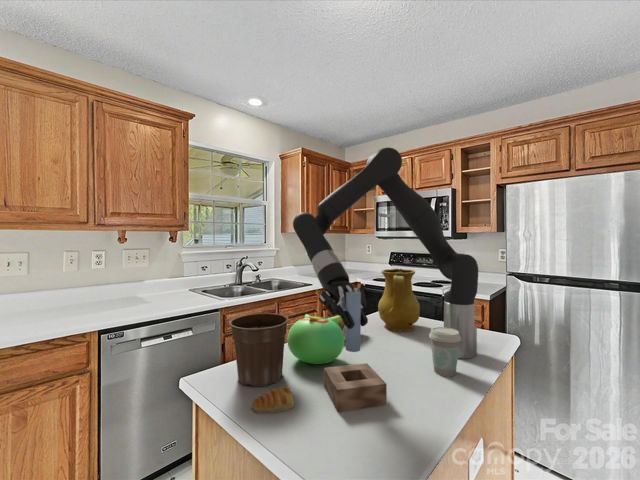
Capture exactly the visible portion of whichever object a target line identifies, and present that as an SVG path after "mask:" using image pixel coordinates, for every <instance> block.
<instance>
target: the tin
mask: <svg viewBox="0 0 640 480" xmlns="http://www.w3.org/2000/svg"><path fill="white" fill-rule="evenodd" d="M337 325H338V326H339V327H340V328H341V330H342V332H343V334H344V342H346V326H345V324H344V322H343V320H342V321H340V322H339V323H338V324H337Z"/></svg>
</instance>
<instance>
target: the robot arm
mask: <svg viewBox="0 0 640 480" xmlns="http://www.w3.org/2000/svg"><path fill="white" fill-rule="evenodd" d="M402 164H403V157H402V155H401V153H400V152H399V151H398V150H397V149H395V148H393V147H383V148H380V149H378V150H377V151H376V152H374V153H373V154H372V155H370V156H369V157H368V159H367V161H366V164H365V167H364V168H362V170H361V171H359V173H356V175H355V176H353V177H351V178H350V179H349V180H348V181H347V182H345V183H343V184H342V185H340V186H339V187H338V188H336V189H335V190H334V191H333V192H331V193H330V194H329V195H327V196H326V197H324V199H322V201H321V202H319V204H318V205H317V213H316V215H315V216H314V215H313V214H312V213H310V212H307V211H303V212H299V213H297V214H296V215H295V217H294V218H293V221H292V227H293V230H294V232H295V234H296V235H297V237H298V240H299V241H300V242H301V244H302V246H303V247H304V249H305V252H306V255H307V256H308V259H309V260H310V262H311V265H312V268H313V272H314V273H315V275H316V277H317V279H318V280H319V283H320V285H321V287H322V289H323V291H322V292H321V294H320V295H319V296H318V298H317V299H318V301H319V302H320V304H322V305H323V306H324V307H325V309H327V311H328V312H329V313H330V314H331V315H333V316H338V315H339V316H341V318H342V320H343V322H344V324H345V326H346V327H348V329H352V328H353V327H354V325H355V323H354V321H353V319H352V317H351V315H350V314H349V312H348V311H347V308H346V292H360V293H361V327H364V326H365V327H366V325H367V324H368V322H369V321H368V320H369V319H368V317H367V315H366V313H365V312H364V308H366V306H367V304H368V303H367V298H366V294H365V289H364V288H363V286H360V287H359V288H357V287H354V285H353V284H352V283H351V282H350V277H349V275H348V273H347V271H346V269H345V267H344V266H343V263H342V261H341V260H340V258H339V256H338V255H337V254H336V253H335V251H334V249H333V248H332V246H331V244H330V242H329V241H328V240H327V239H326V237H325V234H326V233H327V232H328V230H329V229H330V227H331V226H332V224H333V223H334V222H335V221H336V220H337V219H338V218H339V217H341V216H342V215H343V214H344V213H346V212H347V211H348V210H349V209H350V208H352V206H353V205H355V204H356V203H357V202H358V201H359V200H360V199H362V198H363V197H364V196H365V195H366V194H368V192H370V191H371V190H372V189H374V188H375V187H376V186H378V187H379V189H381V190H382V192H384V194H385V195H386V196H387V197H388V199H389V200H390V202H391V203H392V204H393V206H394V207H395V209H396V211H398V213H399V214H400V216H401V217H402V218H403V220H404V221H405V223H406V224H407V226H408V227H409V228H410V229H411V231H412V232H413V233H414V235H415V236H416V238H418V239H419V241H420V242H421V244H422V245H423V247H424V248H425V249H426V250H427V251H428V253H429V254H430V256H431V258H432V259H433V262H434V263H435V266H437V268H438V270H439V271H440V273H441V275H442V276H443V277H445V278H446V279H448V280H450V289H449V290H447V291H446V292H444V294H443V327H446V328H452V329H455V330H457V331H458V332H459V334H460V336H461V341H460V343H459V351H458V359H471V358H473V357H474V356H477V354H478V353H477V351H478V349H477V348H478V347H477V346H478V345H477V343H478V341H477V340H478V339H477V338H478V334H477V333H478V332H477V331H478V327H477V326H476V325H475V298H476V297H477V294H478V284H479V265H478V261H477V260H476V259H475V258H474V257H473V256H472V255H470V254H465V253H458V252H457V251H455V249H454V248H453V247H452V246H451V245H450V244H449V242H448V241H447V239H446V237H445V235H444V231H443V227H442V222H441V219H440V217H439V215H438V214H437V213H436V211H435V209H434V208H433V207H432V206H431V204H430V203H429V202H428V201H427V199H425V198H424V197H423V196H421V194H419V193H418V192H416V191H415V190H414V189H412V188H411V187H410V186H409V185H408V184H406V182H405V181H404V180H403V178H402V177H401V175H399V172H400V171H401V168H402Z"/></svg>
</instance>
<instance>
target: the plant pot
mask: <svg viewBox="0 0 640 480" xmlns="http://www.w3.org/2000/svg"><path fill="white" fill-rule="evenodd" d="M288 323H289V317H287V316H286V315H285V314H279V313H272V312H262V313H261V312H260V313H251V314H245V315H241V316H237V317H234V318H232V319H231V320H230V321H229V322H228V324H229V326H230V328H231V329H230V330H231V335H232V339H233V343H234V352H235V362H236V369H237V380H238V382H239V383H240V384H241V385H245V386H248V385H251V386H252V387H264V386H269V385H272V384H274V383H277V382H278V381H279V380H280V378H282V377H283V365H284V352H285V351H284V350H285V341H286V340H285V339H286V335H287V327H288Z"/></svg>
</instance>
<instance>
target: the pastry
mask: <svg viewBox="0 0 640 480" xmlns="http://www.w3.org/2000/svg"><path fill="white" fill-rule="evenodd" d="M294 402H295V401H294V396H293V395H292V390H291V388H290V387H288V386H287V385H285V386H284V387H278V388H272V389H270V390H269V391H267V392H265V393H262V394H260V395H259V396H256V397H255V398H254V399H253V401H252V403H251V408H252V410H253V411H255V412H256V413H258V414H262V413H263V414H264V413H269V414H274V412H275V413H278V411H280V412H284V411H285V412H286V411H288V410H291V409H293V408H294V406H295V403H294Z"/></svg>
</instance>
